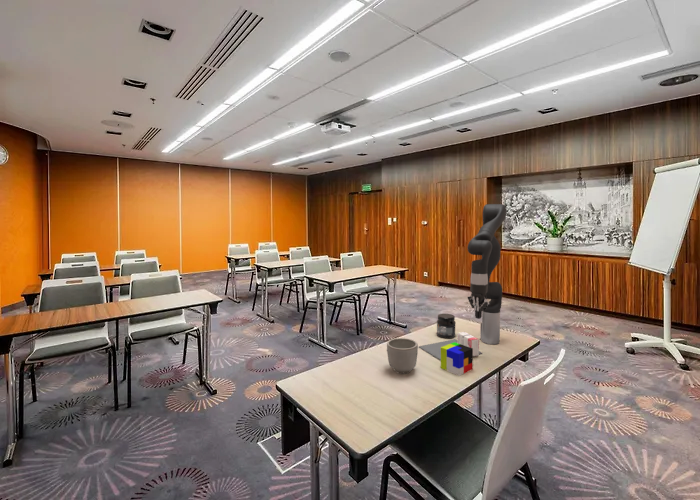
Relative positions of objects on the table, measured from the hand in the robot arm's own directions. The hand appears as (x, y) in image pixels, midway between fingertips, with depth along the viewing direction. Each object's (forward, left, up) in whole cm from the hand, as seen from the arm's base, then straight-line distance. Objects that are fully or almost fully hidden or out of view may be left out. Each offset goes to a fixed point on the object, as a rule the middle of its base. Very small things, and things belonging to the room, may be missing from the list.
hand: (478, 318), depth 163 cm
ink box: (-4, +2, -16) cm, 17 cm away
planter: (-7, -38, -22) cm, 44 cm away
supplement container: (-35, +8, -22) cm, 42 cm away
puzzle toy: (+2, -14, -22) cm, 26 cm away
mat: (-16, -4, -21) cm, 27 cm away
